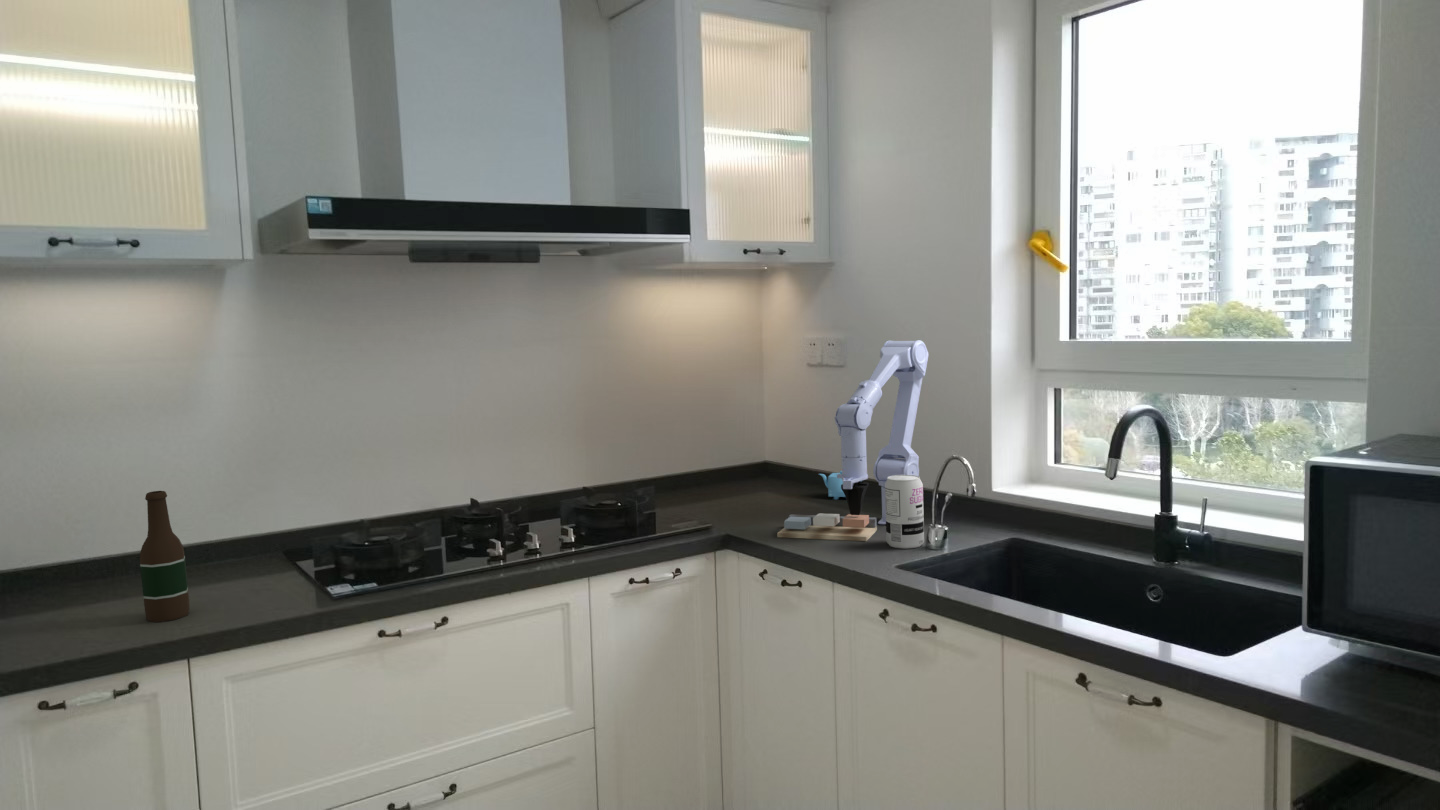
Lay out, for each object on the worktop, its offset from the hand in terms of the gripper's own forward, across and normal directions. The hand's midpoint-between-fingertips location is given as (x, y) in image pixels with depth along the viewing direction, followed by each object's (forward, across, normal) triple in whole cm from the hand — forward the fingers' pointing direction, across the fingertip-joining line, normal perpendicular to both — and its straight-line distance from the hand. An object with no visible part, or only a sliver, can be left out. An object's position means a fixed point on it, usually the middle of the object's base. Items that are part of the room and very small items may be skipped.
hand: (855, 514), depth 230 cm
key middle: (+2, 0, -7) cm, 7 cm away
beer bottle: (+5, +88, -112) cm, 143 cm away
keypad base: (+5, 0, -7) cm, 9 cm away
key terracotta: (+2, 0, 0) cm, 2 cm away
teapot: (+5, -42, -14) cm, 45 cm away
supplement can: (+5, +6, +12) cm, 15 cm away
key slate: (+3, 0, -14) cm, 14 cm away
